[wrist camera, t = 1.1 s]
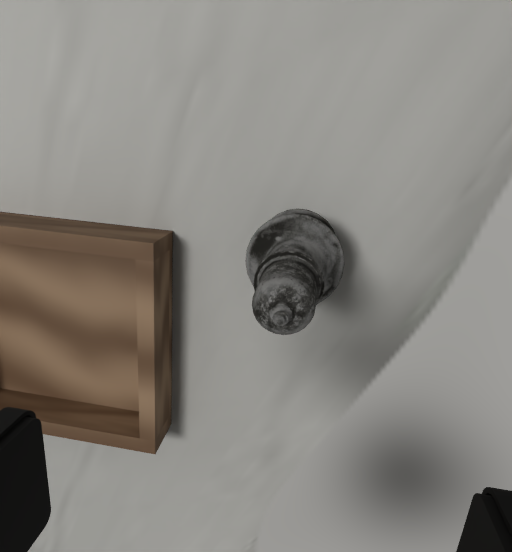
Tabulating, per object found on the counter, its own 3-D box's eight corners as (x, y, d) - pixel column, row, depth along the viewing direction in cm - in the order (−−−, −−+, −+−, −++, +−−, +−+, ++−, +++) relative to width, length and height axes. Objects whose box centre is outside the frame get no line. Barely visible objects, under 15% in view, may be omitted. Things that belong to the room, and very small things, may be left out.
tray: (-38, 207, 31) (-81, 216, 28) (172, 231, 29) (153, 243, 26) (-9, 393, 37) (-41, 418, 34) (171, 424, 35) (155, 454, 32)
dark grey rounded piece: (340, 290, 29) (349, 389, 18) (255, 287, 30) (213, 380, 19) (344, 204, 27) (356, 254, 16) (253, 204, 28) (204, 251, 17)
